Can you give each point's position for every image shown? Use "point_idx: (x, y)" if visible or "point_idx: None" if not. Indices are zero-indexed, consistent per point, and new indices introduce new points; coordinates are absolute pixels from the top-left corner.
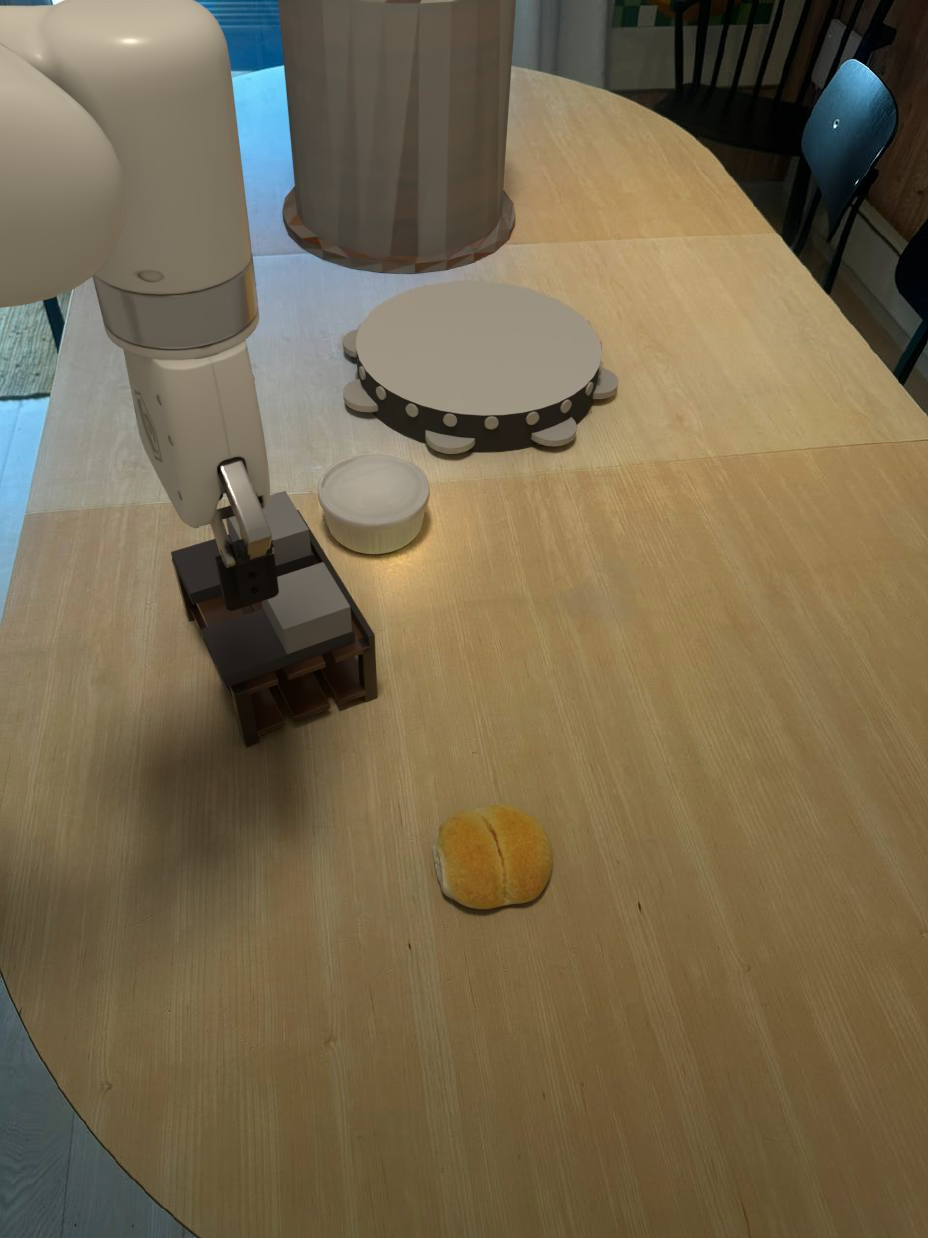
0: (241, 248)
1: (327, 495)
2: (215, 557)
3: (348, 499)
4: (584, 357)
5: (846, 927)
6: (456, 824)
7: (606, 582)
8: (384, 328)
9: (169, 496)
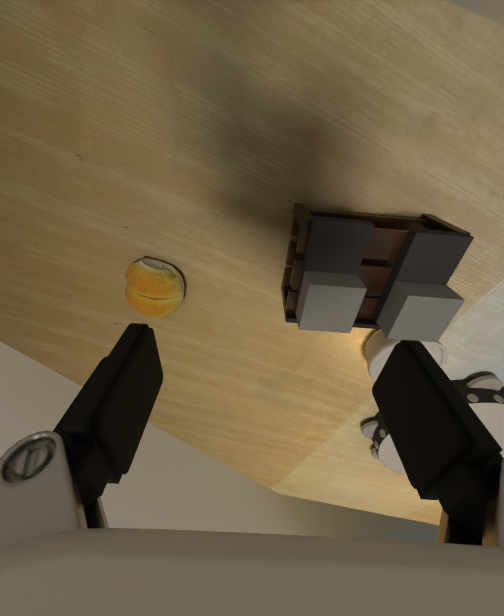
0: None
1: (425, 343)
2: (83, 426)
3: None
4: (395, 465)
5: (88, 372)
6: (165, 287)
7: (278, 397)
8: None
9: (184, 583)
